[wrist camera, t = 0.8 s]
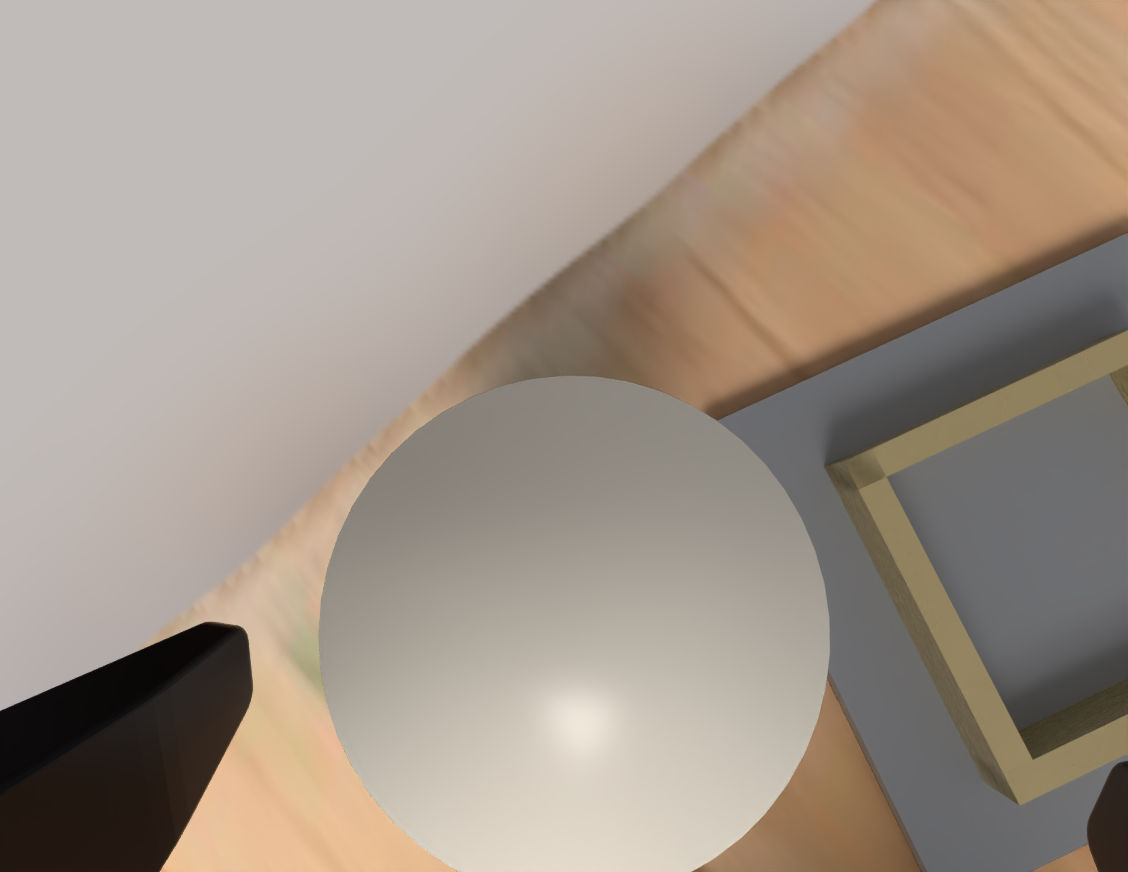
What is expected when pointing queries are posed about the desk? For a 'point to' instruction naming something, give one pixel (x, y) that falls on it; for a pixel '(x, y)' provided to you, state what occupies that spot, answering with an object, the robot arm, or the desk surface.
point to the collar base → (976, 558)
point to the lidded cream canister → (574, 632)
